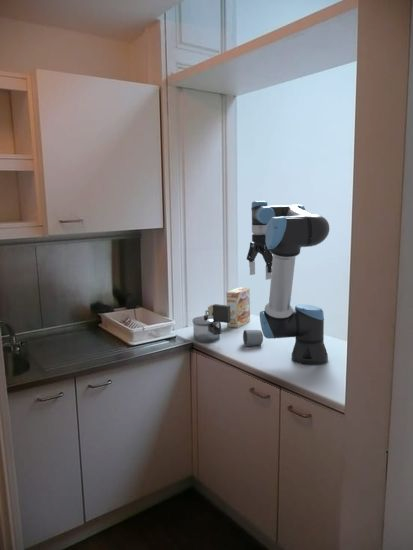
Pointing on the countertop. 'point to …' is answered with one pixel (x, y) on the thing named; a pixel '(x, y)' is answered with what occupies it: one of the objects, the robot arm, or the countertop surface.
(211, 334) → the pot
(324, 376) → the countertop surface
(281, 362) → the countertop surface
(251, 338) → the ceramic mug
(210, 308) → the character mug
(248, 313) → the coffeecake box
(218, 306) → the lid
